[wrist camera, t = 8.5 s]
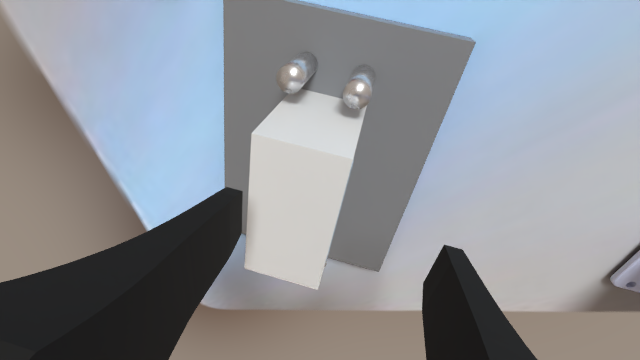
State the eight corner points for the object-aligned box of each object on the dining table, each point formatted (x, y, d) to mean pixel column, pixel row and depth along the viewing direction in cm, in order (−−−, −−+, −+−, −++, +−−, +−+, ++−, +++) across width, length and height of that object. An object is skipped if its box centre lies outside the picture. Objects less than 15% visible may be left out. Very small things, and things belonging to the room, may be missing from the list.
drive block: (367, 104, 17) (354, 159, 12) (337, 217, 21) (318, 290, 16) (293, 86, 17) (250, 132, 12) (279, 201, 22) (243, 268, 17)
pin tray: (470, 37, 15) (491, 56, 12) (379, 259, 24) (376, 307, 21) (234, -14, 16) (188, -10, 13) (232, 218, 25) (205, 257, 22)
